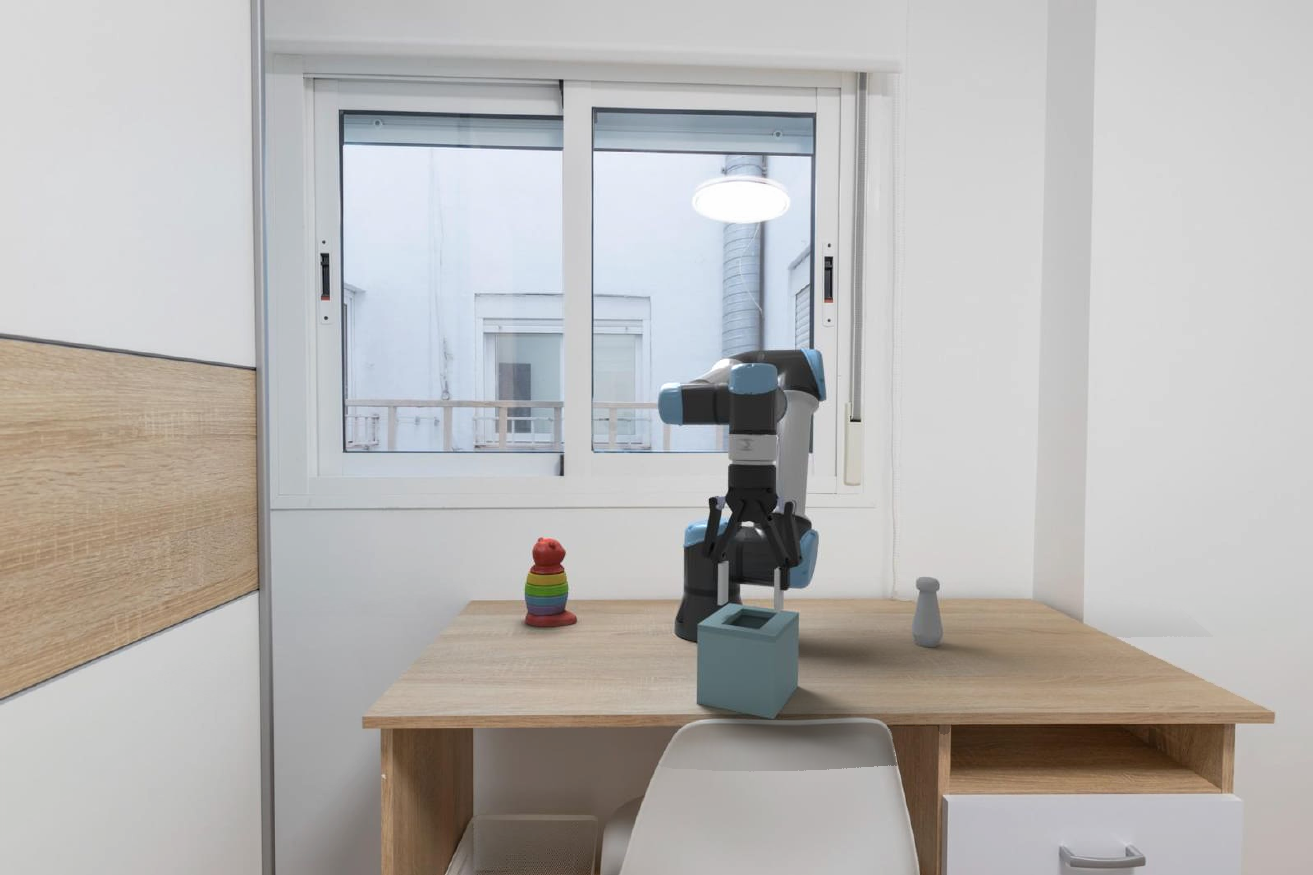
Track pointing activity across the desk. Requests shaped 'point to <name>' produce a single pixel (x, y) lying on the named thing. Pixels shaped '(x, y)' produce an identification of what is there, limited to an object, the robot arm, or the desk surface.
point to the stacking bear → (547, 586)
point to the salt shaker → (927, 614)
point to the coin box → (747, 659)
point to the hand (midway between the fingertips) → (750, 606)
